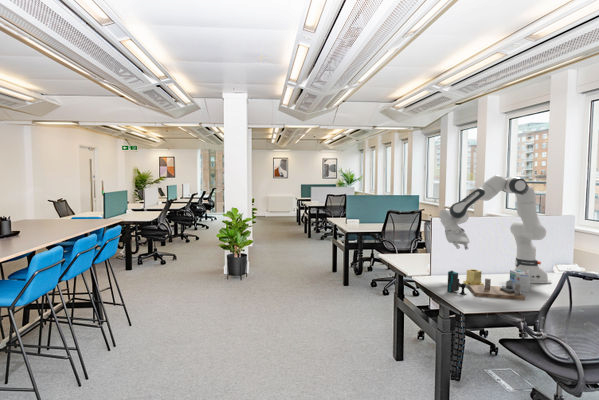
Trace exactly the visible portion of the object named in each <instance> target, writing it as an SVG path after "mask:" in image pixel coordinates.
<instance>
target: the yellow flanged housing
mask: <svg viewBox="0 0 599 400" xmlns="http://www.w3.org/2000/svg"><path fill="white" fill-rule="evenodd" d="M462 284H465V285H466V286H468V284H472V285H485V282H482V270H478V269H473V268H472V269H471V268H470V269H466V279H465V280H463V283H462Z"/></svg>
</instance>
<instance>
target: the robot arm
mask: <svg viewBox="0 0 599 400" xmlns="http://www.w3.org/2000/svg"><path fill="white" fill-rule="evenodd" d="M500 192H504V193H507V194H514V195H515V197H516V214H517V215H518V217H519V218H520V219H521V220H520V221H515V222H513V223H512V224H511V225H510V227H509V228H510V229H509V230H510V233H511V234H512V236H514V239H515V244H516V256H515V260H514V261H515V262H514V264H515V268H514V270H521V271H524V272H526V273H529V274H531V275H530V284H552V280H551V279H549V277H548V273H547V271H545V270H544V269H543V268H542V267H541V266H539V265H541V264H542V261H539V260H537V259H536V256H537V255H536V254H537V253H536V252H537V249H536V248H537V247H535V245H534V244H533V241H540V240H543V239H545V237H546V236H547V235H546V234H547V230H546V227H544V226H543V225H542V223H541V222H540V221H541V220H540V219H539V217H538V212H537V199H536V193H535V190H534V188H533V187H532V186H530V185H529V184H528V183H527V181H526V180H525V179H524V178H523V177H518V176H506V177H503V176H502V175H499V174H495V175H493V176H491V177H490V178H488V179H487V180H485V182H483V183H482V184H481V185H480V186H479V187H478V188H476V189H475V190H473V191H472V192H470V193H469V194H468V195H467V196H465V197H464V198H463V199H461V200H460V201H458V202H455V203H453V204H452V205H451V206H450V207H449V208H444V209H442V210H441V211H440V212H439V214H438V217H439V220H440V219H441V220H440V223H441V225H442V226H443V227H444V235H445V238H446V241H447V242H448V243H449V244H453V246H454V247H455V248H456V249H457V250H459V249H460V248H461V246H460V245H463V246H464V250H466V251H468V250H469V246H468V244H469V243H470V239H469V237H468V235H467V233H466V230H465V229H464V228H462V227H461V226H460V225H461V224H464V223H466V222H467V221H468V220H469V213H468V209H469V208H471V207H472V206H473V205H474V204H475V203H476V202H478V201H490V200H492V199H494V198H495V197H496V196H497V195H498V194H499V193H500Z"/></svg>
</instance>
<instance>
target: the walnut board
mask: <svg viewBox="0 0 599 400" xmlns="http://www.w3.org/2000/svg"><path fill="white" fill-rule="evenodd" d="M491 280H492V279H491V278H485V279H484V285H472V284H468V285H467V288H468V289H469V290H470V292H471V293H472V294H473V295H474V296H475V297H479V298H493V299H505V300H506V299H507V300H518V301H525V300H526V297H525V295H523V294H522V293H521V292H522V291H521V284H515V291H514V293H507V292H505V291H501V290H500V287H501V286H495V285H491V284H492V283H491Z"/></svg>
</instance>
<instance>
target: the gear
mask: <svg viewBox="0 0 599 400" xmlns="http://www.w3.org/2000/svg"><path fill="white" fill-rule="evenodd" d="M499 287H500V290H501V291H505V292H507V293H514V291H515V288H513V282H512V281H511V280H510V279H508V280H506V281H505V285H502V286H499Z"/></svg>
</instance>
